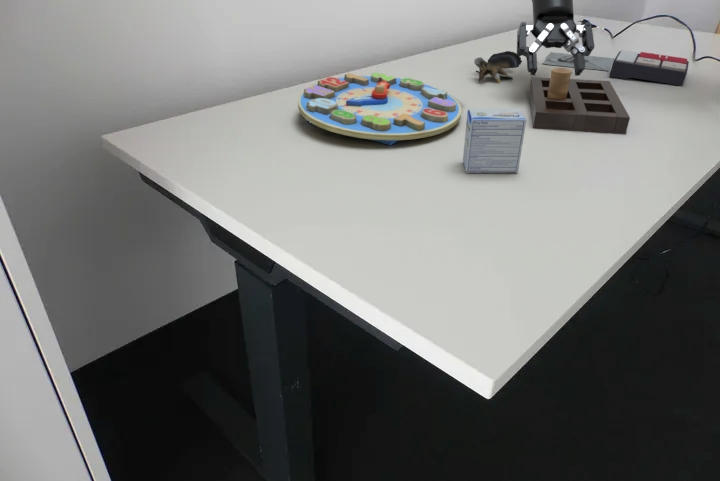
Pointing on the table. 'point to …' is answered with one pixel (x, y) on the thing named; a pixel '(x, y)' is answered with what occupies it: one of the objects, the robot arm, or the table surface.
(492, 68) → the squirrel figurine
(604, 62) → the grey fossil slab
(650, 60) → the dual switch box
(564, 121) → the brown grid tray
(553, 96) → the peg
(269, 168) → the table surface
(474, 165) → the medicine box
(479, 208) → the table surface
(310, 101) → the shape sorting clock
